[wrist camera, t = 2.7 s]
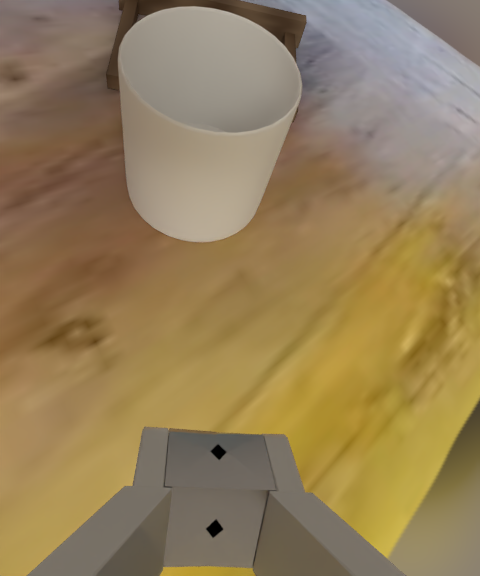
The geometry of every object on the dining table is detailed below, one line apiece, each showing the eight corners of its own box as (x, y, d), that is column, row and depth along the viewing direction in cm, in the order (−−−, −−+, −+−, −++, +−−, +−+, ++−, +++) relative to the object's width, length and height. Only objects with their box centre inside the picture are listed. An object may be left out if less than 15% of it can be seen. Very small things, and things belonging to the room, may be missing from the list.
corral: (99, 86, 40) (95, 57, 37) (121, 3, 46) (119, -27, 43) (300, 123, 43) (310, 99, 40) (297, 41, 49) (306, 15, 46)
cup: (97, 181, 35) (74, 49, 25) (190, 117, 40) (205, -16, 30) (201, 269, 34) (225, 167, 23) (284, 190, 39) (335, 77, 28)
